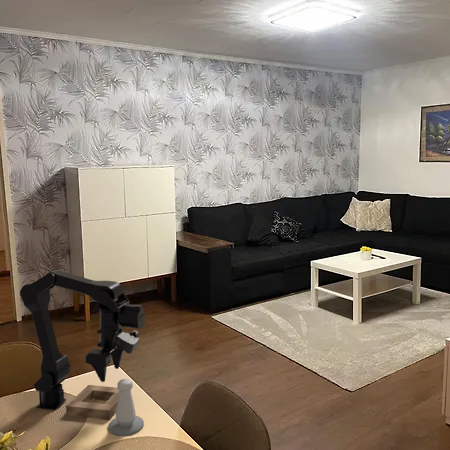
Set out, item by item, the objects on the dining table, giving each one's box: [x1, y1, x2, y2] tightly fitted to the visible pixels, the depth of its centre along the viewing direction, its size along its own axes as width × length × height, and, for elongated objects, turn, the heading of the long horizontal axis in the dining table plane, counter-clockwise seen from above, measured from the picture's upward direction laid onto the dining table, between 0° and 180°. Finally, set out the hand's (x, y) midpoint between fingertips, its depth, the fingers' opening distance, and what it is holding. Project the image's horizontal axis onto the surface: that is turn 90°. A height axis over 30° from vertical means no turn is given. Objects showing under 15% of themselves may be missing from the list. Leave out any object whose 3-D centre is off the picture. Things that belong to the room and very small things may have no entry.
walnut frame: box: [65, 384, 119, 421], centre depth 145 cm, size 14×14×3 cm
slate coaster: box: [108, 415, 145, 437], centre depth 134 cm, size 10×10×1 cm
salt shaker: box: [115, 378, 137, 428], centre depth 134 cm, size 6×6×13 cm
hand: (110, 374), depth 140 cm, fingers open, 9 cm apart
